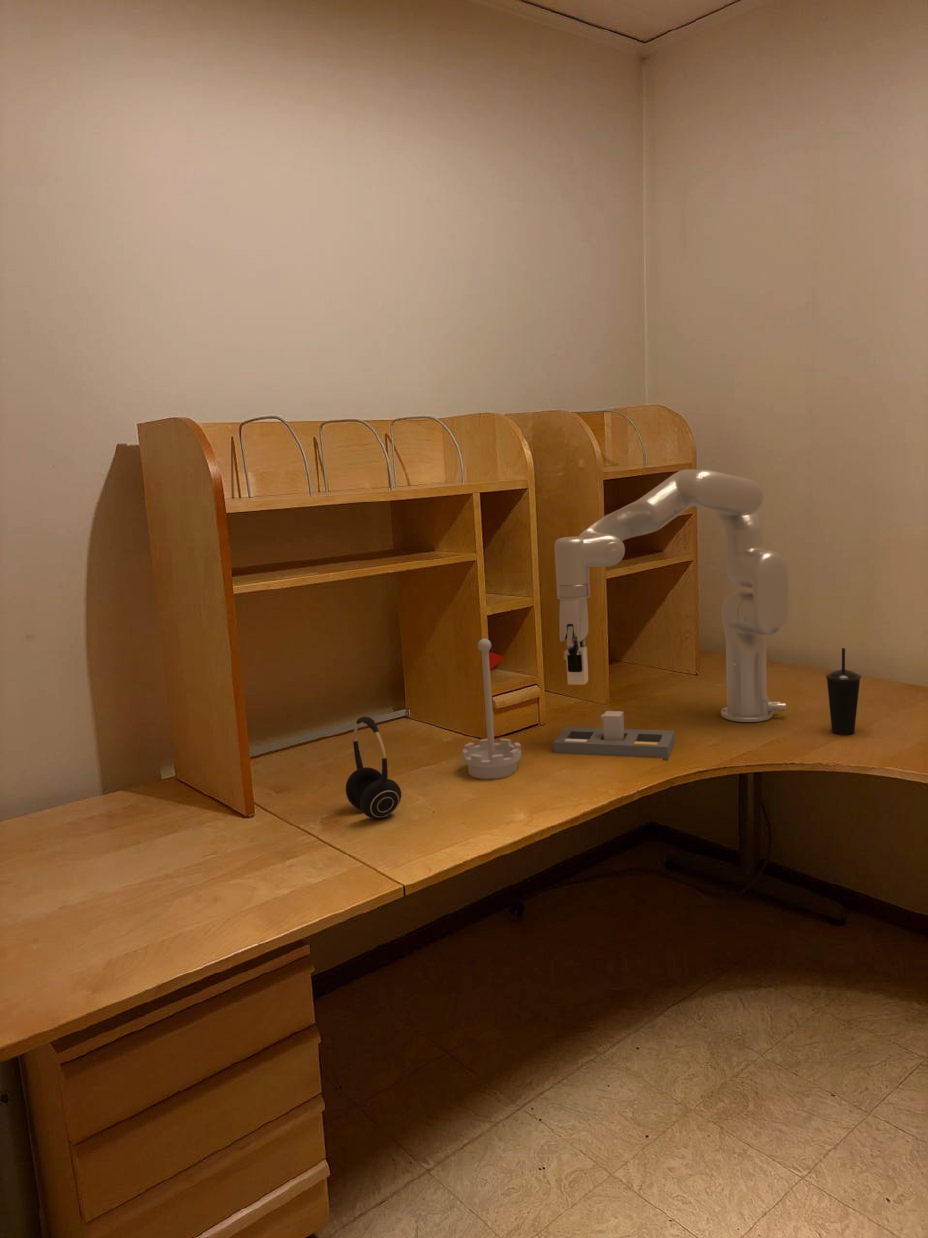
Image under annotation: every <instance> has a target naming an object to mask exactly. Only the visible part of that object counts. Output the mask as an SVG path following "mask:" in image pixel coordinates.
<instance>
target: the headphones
mask: <svg viewBox="0 0 928 1238" xmlns="http://www.w3.org/2000/svg"><path fill="white" fill-rule="evenodd" d="M361 723H364V724H365V725H367V727H369V728H370V729H371V730H372V732H373V734H375V736H376V738H377V740H378V743H379V746H380V751H381V756H382V757H381V764H382V765H381V772H380V771H379V770H377V769H375V768H373V767H369V766H368V767H364V765H363V759H362V756H361V752H360V749H359V748H360V747H359V742H358V729H359V726H360V724H361ZM379 732H380V730H379V728H378V726H377V724H376V722H375V720H374V719H373V718H371V717H369V716H361V717H359V718H358V719H357V720H356V724H355V726H354V729H353V741H352V743H353V744H352V746H353V753H354V760H355V766H356V770H354V771H353V772H352V773H351V774H350V775H349V777H348V778H347V781H346V784H345V795H346V798H347V800H348V802H349V803H350V804H351V805H352V806H353V807H354V808H356V809H358V810H360V811H362V813H363V814H364V815H365V816H366V817H367V818H371V819H376V820H377V819H382V818H386V817H388V816H389V815H391V814H392V813H393V812H394V811H395V810H396V809H397V808H398V807H399V805H400V803H401V799H402V790H401V787H400V786H399V784H398V783H397V782H396V781H395V780H393V779H390V778H389V777H388V776H389V774H388V771H389V770H388V758H387V755H386V749H385V746H384V742H383V740H382V737H381V735H380V733H379Z"/></svg>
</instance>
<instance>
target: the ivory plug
mask: <svg viewBox="0 0 928 1238" xmlns="http://www.w3.org/2000/svg"><path fill="white" fill-rule="evenodd" d="M576 648H577V647H576ZM580 655H582V672H569V671H568V659H567V649H565V650H564V651H563V660H564V661H565V662H566V674H567V679H566V680H567V685H575V686H577V685H581V686H583V685H586V684H587V683H588V681H589V666H588V663H589V662H588V647H587V646H586V647H580Z"/></svg>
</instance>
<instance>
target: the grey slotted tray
mask: <svg viewBox="0 0 928 1238" xmlns="http://www.w3.org/2000/svg"><path fill="white" fill-rule="evenodd" d="M624 717H625V716H624V711H616V710H615V711H614V710H605V712H604V713H602V714H601V716H600V726H602V727H582V726H581V727H577V726H574V727H573V726H564V728H563V729H562V730H561V732H560V733H559V734H558V735H557V737H556V738H555V739H554V740H553V742H552V743H553V744H552V745H553V754H571V755H591V756H592V755H594V756H595V755H596V756H611V757H612V756H615V757H632V758H633V757H636V758H657V759H659V758H660V759H662V761H669V759H670V757H671V753H672V751H673V749H674V746H675V744H674V743H675V741H676V738H675V730H668V729H667V730H663V729H661V730H659V729H635V728H633V729H632V728H625V720H624Z"/></svg>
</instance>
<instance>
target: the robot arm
mask: <svg viewBox="0 0 928 1238" xmlns="http://www.w3.org/2000/svg"><path fill="white" fill-rule="evenodd" d="M763 500H764V493H763V489H762V488H761V486H760V485H759V483H758V482H756V481H755V480H753V479H750V478H747V477H742V476H738V475H733V474H727V473H723V472H720V471H715V470H709V469H702V468H701V469H681V470H679V471H676V473H675V472H674V473H673V474H672V475H671V476H669V477H668V478H666V479H665V480H663V482H660V483H659V484H658V485H657V486H655V487H654V488H653V489H651V490H650V491H648V492H647V493H646V494H644V495H642V496H641V497H640V498H638V499H637V500H635V501H633V502H631V503H628V504H627V505H625V506H623V507H621V508H619V509H617V510H615V511H613V512H611V513H609V514H607V515H605V516H603V517H602V518H600V519H598V520H597V521H596V522H594V523H593V524H591V525H589V526H588V527H587V528H586V529H585V530H583V531H582V532H581V533H580V534H579V535H578V536H566V537H565V536H564V537H561V538H558V539H556V540H555V542H554V561H555V575H556V576H555V577H556V578H555V579H556V596H557V597H556V598H557V600H559V601H560V602H559V613H558V614H559V616H558V617H559V621H558V622H559V641H560V643H565V642H566V650H567V659H568V671H569V672H582V655H580V647H587V646H586V637H587V636H588V634H589V612H588V602H587V601H588V600H587V599H589V598H590V597H591V586H590V585H591V584H590V583H591V581H590V580H591V579H590V567H593V568H595V567H599V568H600V567H601V568H606V567H607V568H608V567H613V566H616V565H617V564H619V563H620V562H621V561H622V560H623V558H624V557H625V554H626V553H625V552H626V547H625V544H624V542H623V541H625V540H629V539H631V538H635V537H639V536H644V535H648V534H651V533H655V532H657V531H659V530H661V529H662V528H663V527H665V526H666V525H668V524H669V523H670V522H671V521H673V520H674V519H675V518H677V517H678V516H679V515H681V514H683V512H685V511H687V510H688V509H689V508H691V507H700V508H702V507H703V508H707V509H708V510H709V511H710V512H712V513H714V514H715V515H716V516H717V517H718V518H719V519H720V521H721V523H722V525H723V528H724V532H725V543H726V545H725V546H726V547H725V548H726V549H725V550H726V553H725V554H726V558H725V560H726V573H727V574H726V576H727V577H728V580H729V581H730V582H731V583H732V584H734V585H736V586H741V587H745V588H750V589H752V591H747V590H738V591H734V592H731V593H730V594H729V595H727V597H725V599H724V601H723V603H722V605H721V611H720V612H721V613H720V614H721V620H722V625H723V630H724V634H725V637H724V638H725V649H726V650H725V651H726V652H725V654H726V655H725V658H726V662H725V665H726V667H725V668H726V704H727V705H726V706H725V707H723V708H722V709H720V716H721V717H722V718H723V719H725V720H729V721H733V722H740V723H757V722H764V721H767V720H768V721H769V720H770V719H772V718H773V717H774V711H779V712H785V711H786V709H787V708H786V707H787V706H786V702H782V701H777V700H775V701H771V700H770V699H769V695H767V645H766V639H765V636H775V635H777V634H779V633H780V632H782V630H783V629H784V628H785V626H786V625H787V622H788V618H789V570H788V565H787V563H786V560H785V559H784V557H783V556H782V555H780V554H779V552H776V551H774V550H769V549H764V544H763V543H764V541H763V529H762V528H763V527H762V522H761V519H760V516H759V514H758V512H757V511H759V509H760V507H762V504H763ZM576 647H577V648H576Z"/></svg>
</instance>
